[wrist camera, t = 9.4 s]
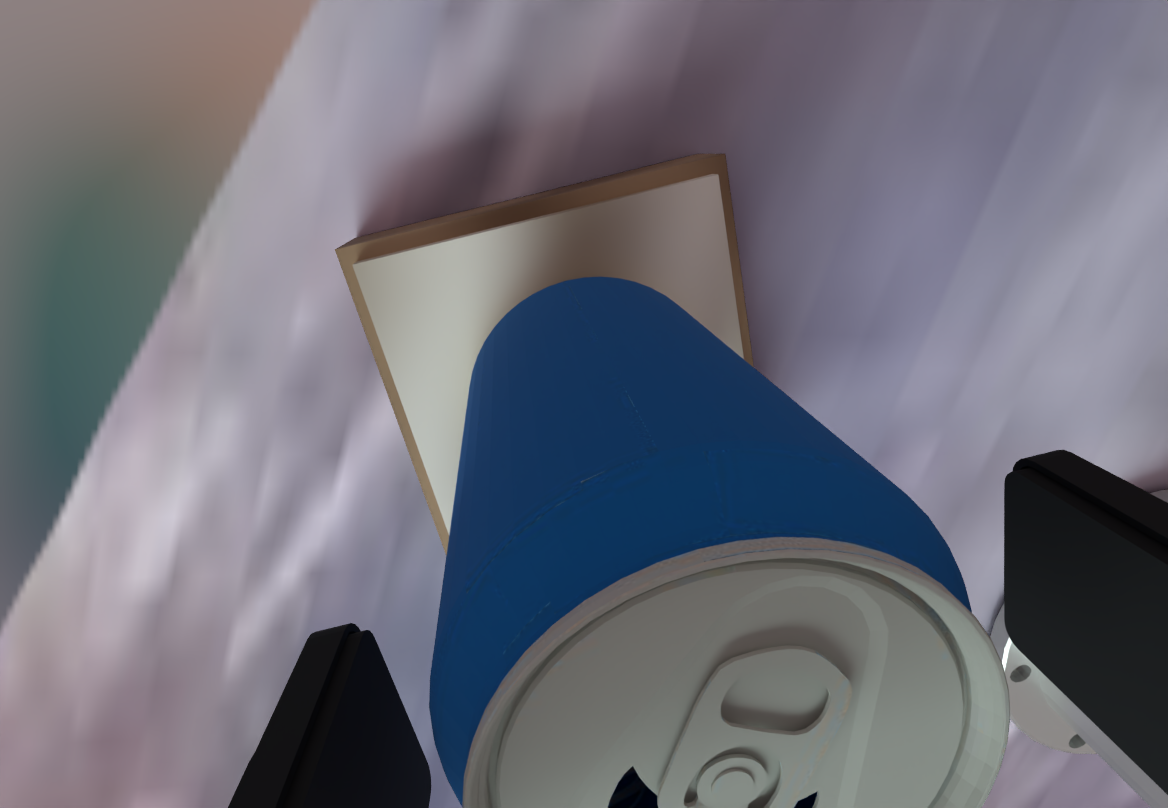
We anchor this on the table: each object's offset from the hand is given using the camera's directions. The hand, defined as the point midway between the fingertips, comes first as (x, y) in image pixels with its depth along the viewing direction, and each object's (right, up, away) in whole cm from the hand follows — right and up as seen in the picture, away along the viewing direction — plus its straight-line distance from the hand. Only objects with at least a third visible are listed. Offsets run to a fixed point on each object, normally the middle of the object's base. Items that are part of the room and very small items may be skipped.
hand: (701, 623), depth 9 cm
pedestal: (-2, +5, +11) cm, 12 cm away
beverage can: (-2, +4, +8) cm, 9 cm away
